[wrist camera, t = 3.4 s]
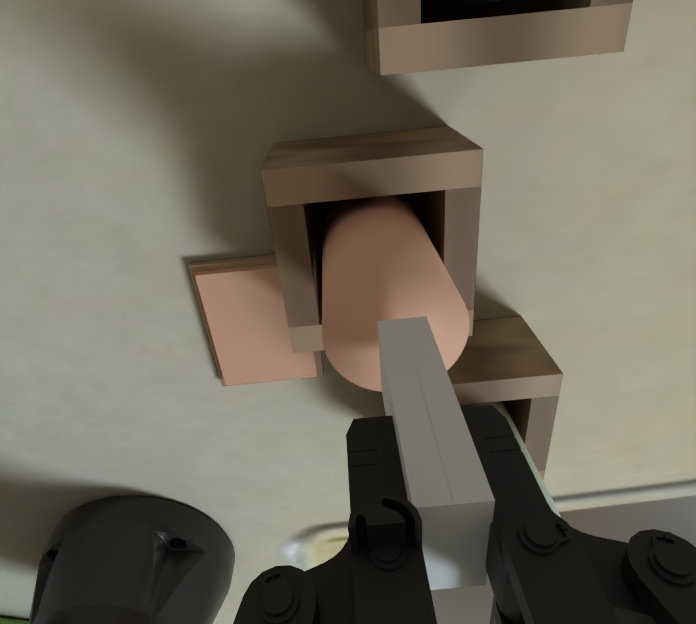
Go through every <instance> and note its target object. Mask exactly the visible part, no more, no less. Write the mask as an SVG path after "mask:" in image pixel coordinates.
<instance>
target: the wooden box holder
mask: <svg viewBox="0 0 696 624" xmlns="http://www.w3.org/2000/svg"><path fill="white" fill-rule="evenodd" d="M363 2H364V19H365V37H366V54H367V68H368V69H370V70H372V71H374V72H375V73H377V74H379V75H391V74H401V73H411V72H421V71H431V70H441V69H452V68H462V67H472V66H482V65H492V64H502V63H512V62H522V61H533V60H543V59H553V58H563V57H573V56H583V55H593V54H604V53H614V52H624V46H625V41H626V36H627V30H628V25H629V20H630V14H631V9H632V4H633V0H527V10H526V14H516V15H506V16H496V17H485V18H475V19H465V20H455V21H445V22H435V23H425V24H421V0H363Z"/></svg>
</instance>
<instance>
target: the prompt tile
mask: <svg viewBox="0 0 696 624" xmlns="http://www.w3.org/2000/svg"><path fill="white" fill-rule="evenodd" d="M188 267H189V271H190V274H191V278H192V281H193V285H194V288H195V292H196V295H197V299H198V302H199V306H200V309H201V313H202V316H203V320H204V323H205V327H206V330H207V334H208V337H209V341H210V344H211V348H212V351H213V355H214V358H215V362H216V366H217V369H218V373H219V376H220V380H221V383H222V386H230V385H240V384H250V383H261V382H271V381H281V380H292V379H302V378H312V377H322V376H324V369H323V362H322V355H321V351H311V352H301V353H293V350H292V345H291V339H290V334H289V328H288V322H287V317H286V311H285V305H284V300H283V294H282V288H281V283H280V277H279V272H278V266H277V260H276V255H275V254H273V255H263V256H253V257H243V258H232V259H222V260H212V261H202V262H192V263H190V264H189V266H188Z"/></svg>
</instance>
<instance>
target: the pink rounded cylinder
mask: <svg viewBox="0 0 696 624" xmlns="http://www.w3.org/2000/svg"><path fill="white" fill-rule="evenodd" d="M423 316H426V317H427V319H428V322H429V325H430V327H431V330H432V333H433V335H434V338H435V341H436V343H437V346H438V349H439V351H440V354H441V357H442V360H443V362H444V365H445V368H446V370H448V369H449V368H450V367H451V366H452V365H453V364H454V363H455V362H456V360H457V359H458V358H459V356H460V355H461V353H462V351H463V349H464V347H465V345H466V342H467V338H468V334H469V316H468V311H467V308H466V305H465V303H464V301H463V299H462V297H461V295H460V294H459V292H458V290H457V288H456V286H455V284H454V283H453V281H452V279H451V277H450V275H449V273H448V271H447V270H446V268H445V266H444V264H443V262H442V260H441V259H440V257H439V255H438V253H437V251H436V249H435V248H434V246H433V244H432V242H431V240H430V238H429V237H428V235H427V233H426V231H425V229H424V227H423V226H422V224H421V222H420V220H419V218H418V216H417V214H416V213H415V211H414V209H413V208H412V207H411V205H410V204H409V203H408V202H407V201H406V200H404V199H403V198H402V197H400V196H399V195H387V196H377V197H367V198H356V199H346V200H341V201H340V202H338V203H337V204H336V206H335V207H334V208H333V209H332V210H331V212H330V213H329V215H328V217H327V219H326V222H325V224H324V228H323V236H322V340H323V346H324V350H325V353H326V355H327V358H328V359H329V361H330V363H331V364H332V366H333V367H334V368H335V370H336V371H337V372H338V373H339V374H341V375H342V376H343V377H344V378H346V379H347V380H348V381H350V382H352V383H354V384H355V385H358V386H360V387H363V388H366V389H370V390H374V391H380V392H382V388H381V372H380V356H379V340H378V324H377V321H382V320H392V319H402V318H413V317H423Z"/></svg>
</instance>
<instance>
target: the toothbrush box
mask: <svg viewBox="0 0 696 624" xmlns="http://www.w3.org/2000/svg"><path fill="white" fill-rule="evenodd" d="M0 624H29V621H25V620H16V619H8V618H1V617H0Z"/></svg>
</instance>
